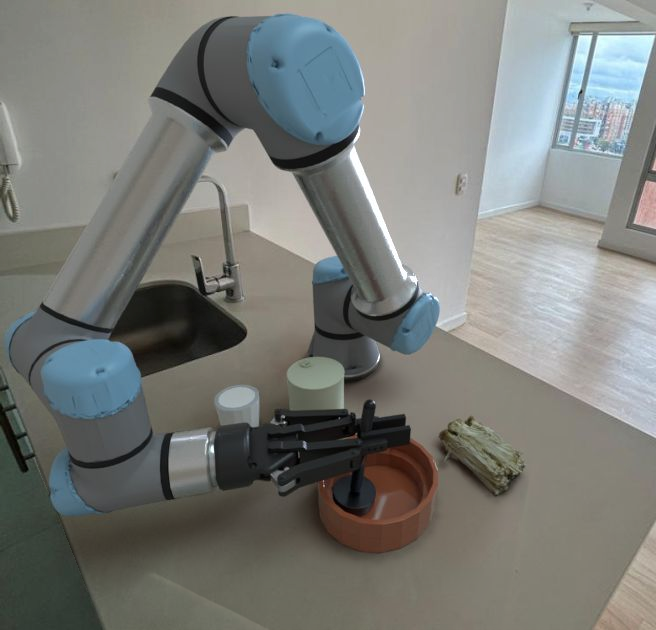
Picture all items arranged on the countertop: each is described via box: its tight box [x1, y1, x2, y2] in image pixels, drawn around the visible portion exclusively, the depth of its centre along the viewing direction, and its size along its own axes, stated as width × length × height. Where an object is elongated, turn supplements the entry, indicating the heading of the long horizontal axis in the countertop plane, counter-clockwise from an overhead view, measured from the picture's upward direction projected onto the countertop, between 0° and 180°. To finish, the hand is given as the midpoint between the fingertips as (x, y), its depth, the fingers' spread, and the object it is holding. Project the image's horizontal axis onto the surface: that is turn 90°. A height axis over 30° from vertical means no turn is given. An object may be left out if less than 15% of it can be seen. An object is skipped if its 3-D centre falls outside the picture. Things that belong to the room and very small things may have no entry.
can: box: [286, 357, 345, 419], centre depth 74 cm, size 9×9×12 cm
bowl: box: [317, 433, 439, 554], centre depth 63 cm, size 16×16×6 cm
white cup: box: [213, 384, 260, 427], centre depth 73 cm, size 7×7×7 cm
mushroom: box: [438, 415, 527, 496], centre depth 71 cm, size 14×10×5 cm, turn 42°
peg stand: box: [332, 399, 377, 516], centre depth 60 cm, size 6×6×17 cm
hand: (406, 428), depth 60 cm, fingers closed on peg stand, 2 cm apart
